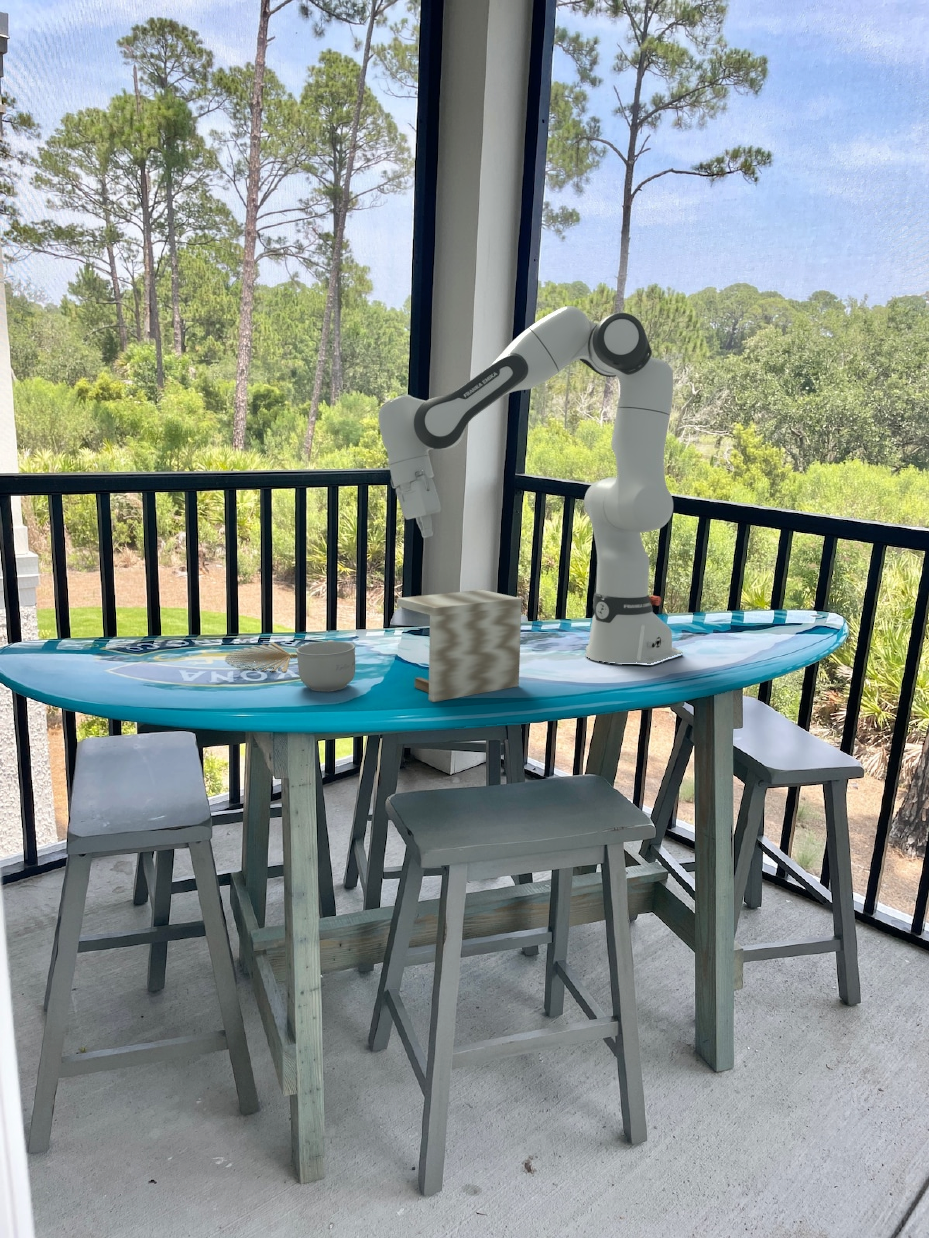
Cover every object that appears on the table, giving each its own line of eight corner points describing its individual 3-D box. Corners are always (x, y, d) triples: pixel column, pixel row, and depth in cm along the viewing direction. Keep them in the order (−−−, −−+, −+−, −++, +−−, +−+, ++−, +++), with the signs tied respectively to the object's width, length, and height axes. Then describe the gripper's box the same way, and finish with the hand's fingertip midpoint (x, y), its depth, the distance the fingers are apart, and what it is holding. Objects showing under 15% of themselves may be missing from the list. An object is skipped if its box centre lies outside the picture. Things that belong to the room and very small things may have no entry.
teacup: (345, 697, 161) (345, 654, 160) (288, 693, 163) (287, 650, 161) (366, 678, 175) (366, 638, 173) (313, 675, 176) (312, 635, 175)
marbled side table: (479, 672, 180) (481, 589, 177) (518, 686, 171) (521, 598, 168) (396, 687, 168) (397, 598, 165) (433, 702, 159) (435, 607, 156)
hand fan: (291, 644, 204) (223, 647, 199) (291, 641, 203) (223, 643, 199) (304, 673, 179) (227, 676, 175) (304, 669, 179) (227, 672, 174)
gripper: (438, 465, 182) (454, 531, 184) (415, 475, 201) (430, 535, 203) (409, 472, 180) (426, 539, 182) (388, 481, 200) (404, 541, 202)
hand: (428, 537), depth 193 cm, fingers closed
